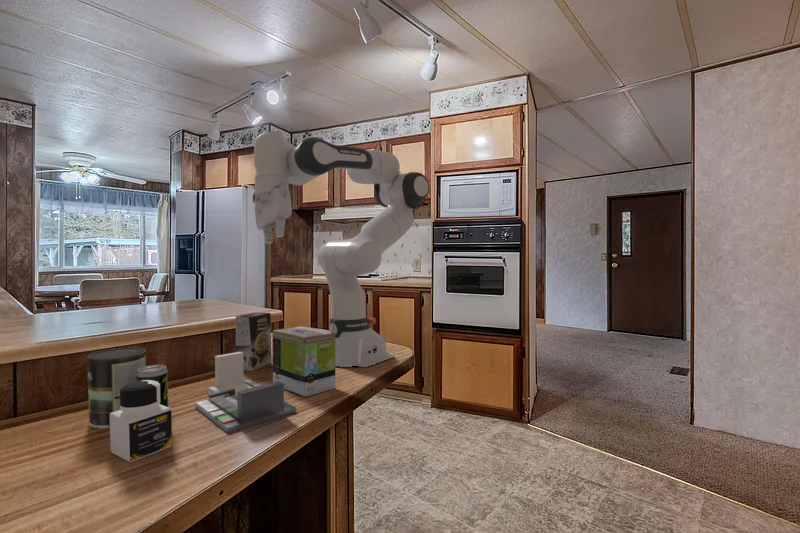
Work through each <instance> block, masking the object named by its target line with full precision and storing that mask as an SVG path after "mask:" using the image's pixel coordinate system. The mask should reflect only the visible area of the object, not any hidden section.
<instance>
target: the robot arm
mask: <svg viewBox="0 0 800 533" xmlns="http://www.w3.org/2000/svg"><path fill="white" fill-rule="evenodd" d="M253 165H254V168H255V175H254V192H253V195H252V203H253V204H254V214H255V215H254V216H255V217H254V218H255V222H256V223H255V225H256V228H257V230H260V231H262V233H263V237H264V242H265V244H268V245H269V244H270V245H271V244H273V242H274V237H273V234H272V232H273V229H274V228H275V227H276V228H275V232H274V233H275V238H279V239H280V238H283V237H285V227H286V220H287V219H288V218H290V217H291V216H292V213H293V207H292V206H293V205H292V197H291V191H290V190H289V189H290V188H289V184H290V185H293V186H297V187H298V186H303V185H306V184H308V183H310V182H311V181H313V180H314V179H317V178H318V177H320V176H322V175H324V174H326V173H328V172H330V171H332V170H334V169H340V170H341V169H342V170H346V174H347V175H348V177H349V179H350V180H351V181H352V182H354V183H357V184H361V185H373V194H374V199H375V201H376V202H377V204H378V205H379V206H380V207H383V208H385V209H384V210H383V211H381V212H379V214H377V215H375V216H374V217H373V218H371V219H370V220H369V221H366V223H364V224H363V225H362V226H361V228H360V232H359V233H358V234H357V235H356V236H354V237H352V238H347V239H334V240H333V239H332V240H330V241H327V242H325V243H323V244H322V245H321V246H320V247H319V249H318V251H317V254H316V256H317V262H318V265H319V266H320V267H321V268H322V270H323V272H324V275H325V278H326V281H327V284H328V289H329V294H330V295H329V296H330V297H329V298H330V317H329V331H332V332H335V367H338V366H339V367H340V368H353V367H352V366H359V367H358V368H369V367H371V365H372V366H375V365H376V363H377V364H380V363H383V362H385V361H387V359H388V360H390V358H391V359H393V358H394V357H395V356H394V354H393V353H392V352H390V351H388V350H387V343H386V340H385V338H384V337H383V336H381V335H380V334H379V333H378V332H376V331H375V330H373V329H372V328H371V325H370V324H372V325H375V324H376V322H377V319H376V317H371V316H370V317H369V318H368V317H367V313H366V312H367V311H366V308H367V306H366V305H367V303H366V302H367V301H366V299H367V297H366V292H365V289H364V288H362V286H361V284H360V283H359V280H358V277H357V276H362V275H366V274H371V273H373V272H375V271H377V270H378V269H379V267H380V265H381V262H382V254H383V253H384V252H385V251H386V250H387V249H389V248H390V247H391V246H393V244H395V243H396V242H397V241H399V240H400V239H401V238H402V237H403V236H404V235H405V234H406V233H407V232H408V231H409V230H410V229H411V227H412V226H413V225H414V222H415V217H414V216H415V215H414V212H413V210H417V209H419V208H420V207H421V206H422V203H423V202H424V201H426V199H427V196H429V191H430V185H429V180H428V178H427V177H426V176H425V175H424V174H423V173H422V172H421V173H420V172H416V171H410V172H407V173H401V171H400V169H401V167H400V161H399V159H398V157H397V155H394V154H393V153H391V152H386V151H383V150H379V149H377V150H376V149H364V148H360V147H352V146H345V145H337V144H333V143H330V142H328V141H326V140H324V139H322V138H321V137H320V138H319V137H314V136H311V137H307V138H305V139H304V140H302V142H300V144H299V145H297V147H296V146H295V145H293V144H292V143H291V142H289V140H288V139H286V137H285V136H284V134H283V133H282V132H279V131H275V130H273V131H272V130H271V131H265V132H263V133H261V134H259V135H258V136H257V137H256V138H255V141H254V147H253ZM384 360H385V361H384ZM382 361H383V362H382ZM379 362H380V363H379ZM368 366H369V367H368Z"/></svg>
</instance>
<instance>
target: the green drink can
mask: <svg viewBox="0 0 800 533" xmlns="http://www.w3.org/2000/svg"><path fill="white" fill-rule="evenodd" d="M141 380H153V381H157V382H158V383H159V384H160V405H163V406H166V407H169V372H168V369H167V366H166V365H164V364H153V365H146V367H142V368H139V369H138V373H137V375H136V381H141ZM169 408H170V407H169Z"/></svg>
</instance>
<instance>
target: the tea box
mask: <svg viewBox="0 0 800 533" xmlns="http://www.w3.org/2000/svg"><path fill="white" fill-rule="evenodd" d="M336 381H337V380H336V366H335V332H332V331H330V330H325V329H320V328H315V327H309V326H303V325H302V326H293V327H288V328H279V329H273V330H272V383H274V382H282V383H284V390H288V391H290V392H293V393H295V394H298V395H300V396H302V397H310V396H313V395H317V394H320V393H323V392H326V391H330V390H333V389H335V388H336Z"/></svg>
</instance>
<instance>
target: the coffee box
mask: <svg viewBox="0 0 800 533" xmlns="http://www.w3.org/2000/svg"><path fill="white" fill-rule="evenodd" d="M271 315H272V313H271V312H251V313H245V314H241V315H235V352H243V371H249V372H253V371H256V370H258V369H261V368H263V367H266V366H268V365H271V364H272V342H271V341H272V337H271V336H272V332H271V331H272V330H271V329H272V328H271V326H272V325H271V317H272V316H271ZM270 328H271V329H270Z"/></svg>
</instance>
